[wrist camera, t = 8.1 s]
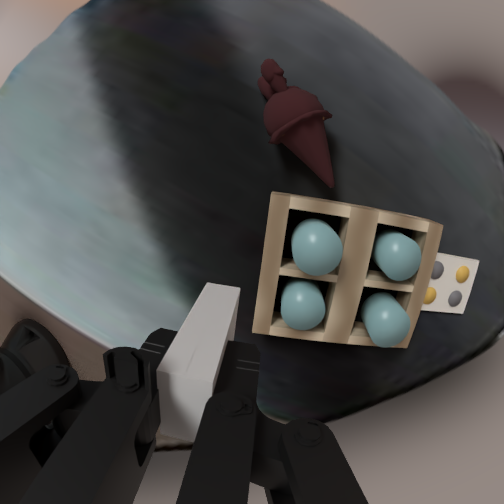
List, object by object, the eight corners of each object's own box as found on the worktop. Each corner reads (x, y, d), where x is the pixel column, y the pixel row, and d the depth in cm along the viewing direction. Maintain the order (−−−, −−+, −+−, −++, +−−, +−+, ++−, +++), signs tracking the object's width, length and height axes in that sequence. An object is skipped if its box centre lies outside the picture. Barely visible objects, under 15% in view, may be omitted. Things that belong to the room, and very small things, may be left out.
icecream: (375, 167, 27) (298, 42, 25) (312, 199, 26) (233, 64, 25) (348, 178, 33) (286, 72, 32) (294, 206, 33) (231, 94, 32)
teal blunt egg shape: (287, 258, 33) (288, 272, 29) (294, 215, 32) (296, 222, 28) (330, 264, 33) (337, 278, 29) (338, 221, 32) (347, 230, 27)
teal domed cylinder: (356, 325, 35) (364, 346, 30) (366, 289, 33) (377, 306, 29) (390, 328, 34) (402, 348, 30) (401, 294, 33) (415, 310, 29)
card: (406, 306, 36) (408, 309, 36) (422, 249, 34) (424, 251, 33) (461, 312, 36) (463, 314, 35) (477, 260, 34) (480, 261, 33)
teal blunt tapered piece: (366, 264, 35) (377, 278, 30) (374, 225, 33) (387, 234, 29) (400, 269, 34) (415, 283, 30) (409, 232, 33) (425, 241, 29)
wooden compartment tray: (255, 316, 39) (252, 332, 35) (272, 191, 34) (271, 193, 31) (397, 333, 38) (406, 347, 34) (428, 219, 33) (443, 225, 29)
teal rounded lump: (278, 308, 37) (277, 327, 33) (284, 272, 36) (284, 287, 32) (316, 313, 37) (320, 332, 33) (324, 278, 36) (329, 293, 31)
